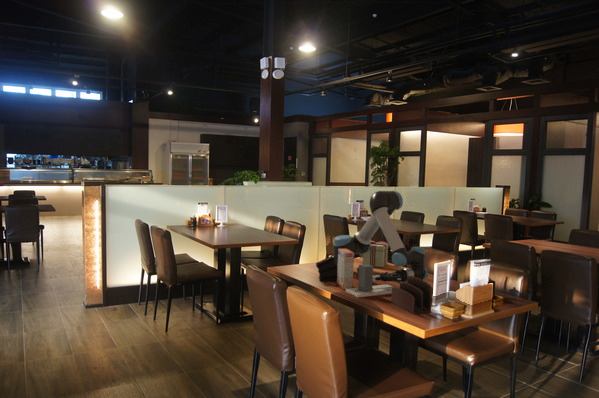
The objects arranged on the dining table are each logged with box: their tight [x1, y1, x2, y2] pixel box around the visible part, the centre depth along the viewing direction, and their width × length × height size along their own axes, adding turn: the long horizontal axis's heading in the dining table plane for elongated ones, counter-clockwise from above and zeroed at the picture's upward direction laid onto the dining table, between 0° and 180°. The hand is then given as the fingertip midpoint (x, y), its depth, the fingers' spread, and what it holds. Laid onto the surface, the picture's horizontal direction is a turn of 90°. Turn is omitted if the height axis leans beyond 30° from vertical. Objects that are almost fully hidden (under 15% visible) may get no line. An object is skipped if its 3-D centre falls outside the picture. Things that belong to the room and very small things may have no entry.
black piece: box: [315, 255, 337, 283], centre depth 259 cm, size 4×13×15 cm, turn 99°
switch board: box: [345, 283, 394, 298], centre depth 237 cm, size 28×12×2 cm, turn 116°
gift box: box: [362, 240, 389, 268], centre depth 310 cm, size 17×18×17 cm
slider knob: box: [356, 263, 374, 291], centre depth 235 cm, size 6×6×13 cm
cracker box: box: [336, 249, 355, 291], centre depth 247 cm, size 14×6×21 cm, turn 9°
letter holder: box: [390, 276, 432, 315], centre depth 212 cm, size 10×20×14 cm, turn 19°
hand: (369, 278), depth 236 cm, fingers closed
